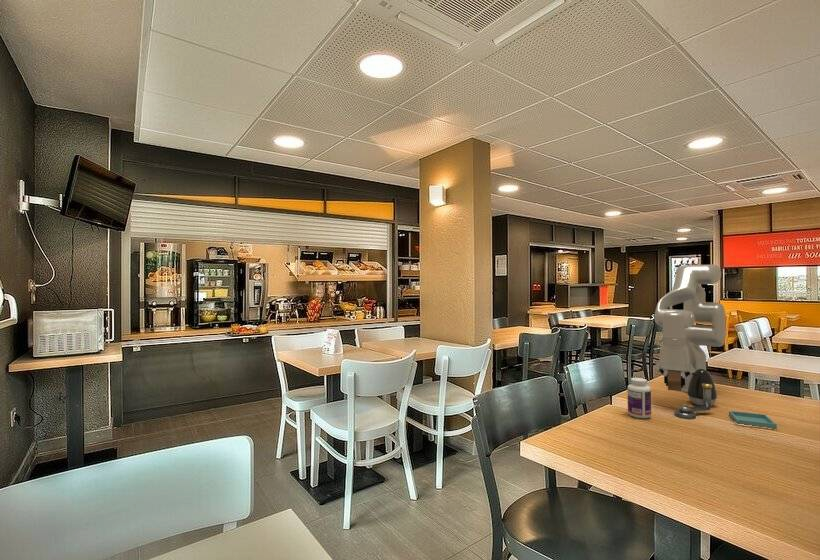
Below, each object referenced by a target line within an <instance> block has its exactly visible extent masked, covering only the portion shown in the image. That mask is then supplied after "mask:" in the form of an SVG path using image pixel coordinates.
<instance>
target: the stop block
mask: <svg viewBox="0 0 820 560" xmlns="http://www.w3.org/2000/svg"><path fill="white" fill-rule="evenodd" d="M667 374H668V386H667V390H668V391H673V392H674V391H675V392H682V391H681V389H682V388H681V376H682V375H681V371H673V370H668V372H667Z"/></svg>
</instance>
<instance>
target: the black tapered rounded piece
mask: <svg viewBox="0 0 820 560" xmlns="http://www.w3.org/2000/svg"><path fill="white" fill-rule="evenodd" d="M702 383H708V384H712V388H711V406H713V405H714V404H715V403H716V401H717V398H718V395H717V394H718V393H717V390H716V389H717V388H716V385H715V382H714V379H713V377H712V376H711V374H710V372H709V371H708V370H707V369H706V370H704V369H697V370H696V371H695V372H694V373H692V377H691V379H690V382H689V385H688V392H686V394H687V395H688V398H689V401H690V402H691V403H692V404H694V405H695V406H701V405H703V387H702Z"/></svg>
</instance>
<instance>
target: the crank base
mask: <svg viewBox="0 0 820 560" xmlns="http://www.w3.org/2000/svg"><path fill="white" fill-rule="evenodd" d="M696 413H697V412H691V413H683V412H680V411H679V408H677V409H674V410H673V415H674V416H675V417H677V418H680V419H684V420H686V419H687V420H694V419H696V417H697V415H696Z"/></svg>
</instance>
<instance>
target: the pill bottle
mask: <svg viewBox="0 0 820 560" xmlns="http://www.w3.org/2000/svg"><path fill="white" fill-rule="evenodd" d="M630 382H631V383H630V384H628V385H627V413H628V415H629V416H631V417H633V418H637V419H649V418H651V417H652V390H651V389H652V388H651V387H650V386H649V385H647V384H648V380H647V379H645V378H642V377H631V378H630Z"/></svg>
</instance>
